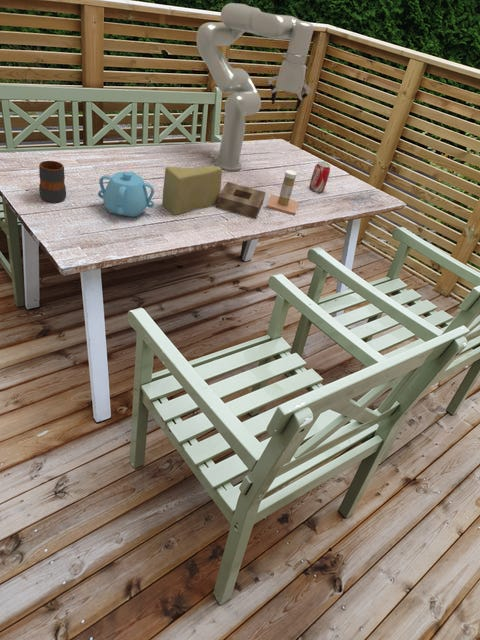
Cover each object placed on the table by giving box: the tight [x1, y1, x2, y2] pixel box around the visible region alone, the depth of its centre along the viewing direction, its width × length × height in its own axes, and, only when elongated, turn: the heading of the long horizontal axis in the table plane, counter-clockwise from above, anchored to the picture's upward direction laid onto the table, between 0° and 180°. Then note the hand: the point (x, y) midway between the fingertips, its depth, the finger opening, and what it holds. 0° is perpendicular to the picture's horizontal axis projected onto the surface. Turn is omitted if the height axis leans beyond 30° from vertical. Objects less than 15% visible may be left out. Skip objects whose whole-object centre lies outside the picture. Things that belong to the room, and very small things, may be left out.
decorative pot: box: [97, 170, 155, 218], centre depth 168 cm, size 16×16×14 cm
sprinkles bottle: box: [278, 169, 298, 205], centre depth 196 cm, size 5×5×14 cm
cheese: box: [161, 165, 223, 216], centre depth 179 cm, size 22×10×15 cm, turn 126°
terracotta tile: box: [265, 194, 300, 216], centre depth 200 cm, size 12×12×1 cm
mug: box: [38, 160, 67, 204], centre depth 166 cm, size 9×12×12 cm
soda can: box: [309, 161, 331, 193], centre depth 217 cm, size 7×7×12 cm
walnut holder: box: [215, 181, 266, 219], centre depth 192 cm, size 16×16×4 cm
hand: (284, 106), depth 194 cm, fingers open, 9 cm apart
